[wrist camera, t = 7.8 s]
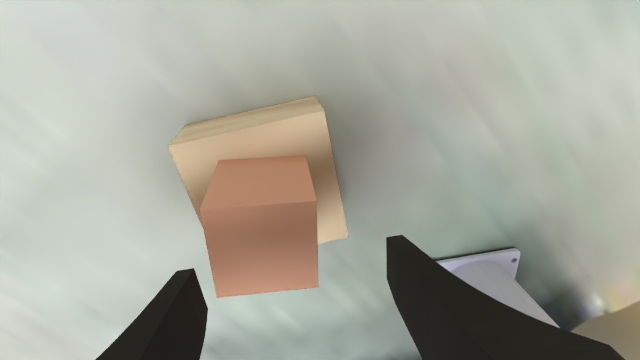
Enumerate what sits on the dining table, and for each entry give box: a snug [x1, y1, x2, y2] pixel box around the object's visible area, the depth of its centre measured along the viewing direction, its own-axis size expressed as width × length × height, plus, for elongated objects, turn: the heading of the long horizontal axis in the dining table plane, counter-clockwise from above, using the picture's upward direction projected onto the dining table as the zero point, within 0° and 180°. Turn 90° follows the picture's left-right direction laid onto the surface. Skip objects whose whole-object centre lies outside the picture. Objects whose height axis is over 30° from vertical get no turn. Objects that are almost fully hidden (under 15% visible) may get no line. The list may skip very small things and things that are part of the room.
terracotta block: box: [200, 155, 318, 298], centre depth 16 cm, size 4×4×5 cm
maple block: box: [168, 96, 349, 244], centre depth 20 cm, size 8×8×4 cm
